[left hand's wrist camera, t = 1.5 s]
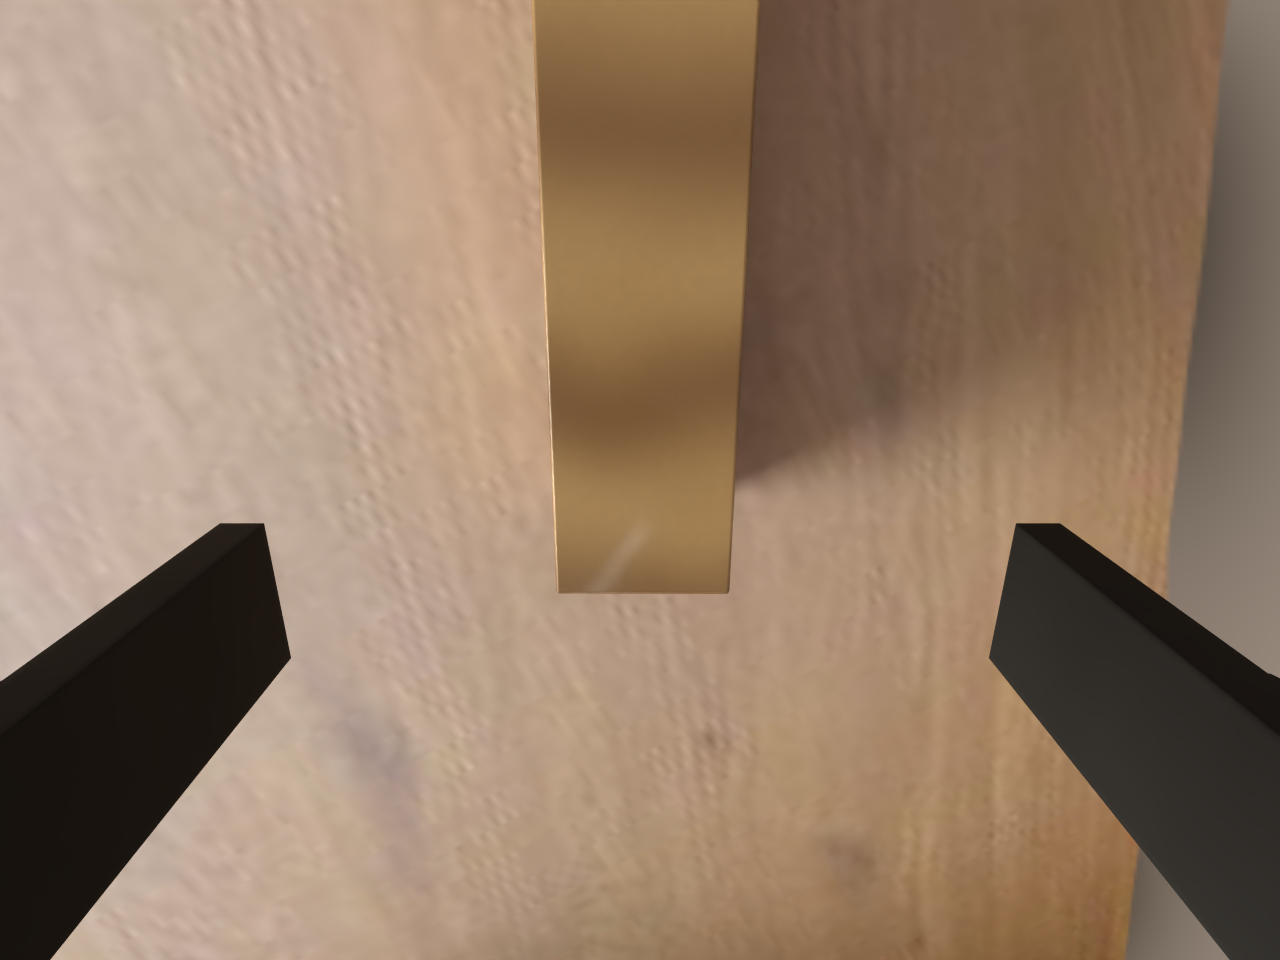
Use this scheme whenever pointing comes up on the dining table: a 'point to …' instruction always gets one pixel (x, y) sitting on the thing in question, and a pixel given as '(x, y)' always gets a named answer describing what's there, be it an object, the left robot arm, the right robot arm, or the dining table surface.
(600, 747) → the dining table surface
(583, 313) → the bar
